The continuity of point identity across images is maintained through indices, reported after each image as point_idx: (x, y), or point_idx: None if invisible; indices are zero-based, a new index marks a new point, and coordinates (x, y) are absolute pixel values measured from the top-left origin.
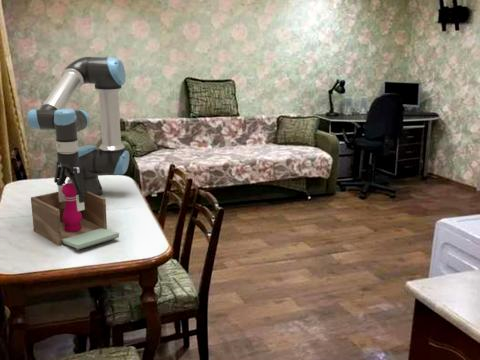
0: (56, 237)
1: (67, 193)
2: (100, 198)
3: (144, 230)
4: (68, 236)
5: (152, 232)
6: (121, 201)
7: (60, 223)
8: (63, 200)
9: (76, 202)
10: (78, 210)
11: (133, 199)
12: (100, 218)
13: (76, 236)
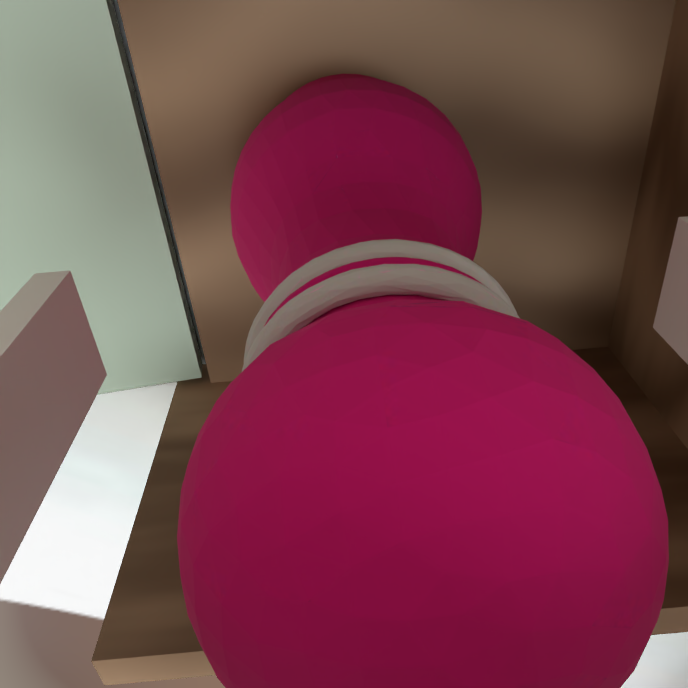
0: None
1: (243, 375)
2: (151, 655)
3: (79, 561)
4: (150, 24)
5: (19, 578)
6: (660, 638)
7: (586, 125)
8: (673, 287)
9: (2, 355)
10: (33, 286)
11: (627, 684)
12: None
13: (81, 95)
